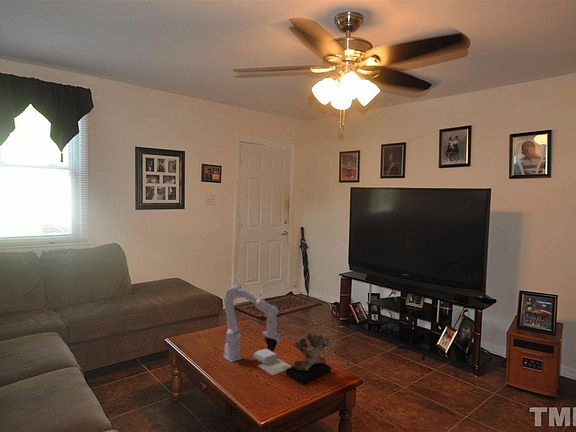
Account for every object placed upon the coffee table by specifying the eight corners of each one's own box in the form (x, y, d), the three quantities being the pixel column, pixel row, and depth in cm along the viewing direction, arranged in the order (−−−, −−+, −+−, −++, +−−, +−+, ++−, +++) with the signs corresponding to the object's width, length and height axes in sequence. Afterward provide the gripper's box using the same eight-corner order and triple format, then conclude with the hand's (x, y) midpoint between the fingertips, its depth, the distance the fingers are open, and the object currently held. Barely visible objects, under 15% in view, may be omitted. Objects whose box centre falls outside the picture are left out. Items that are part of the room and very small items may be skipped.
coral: (318, 362, 223) (319, 327, 222) (343, 375, 208) (344, 337, 206) (285, 374, 207) (286, 336, 206) (310, 390, 192) (311, 349, 190)
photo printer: (277, 360, 224) (265, 353, 233) (277, 353, 223) (265, 347, 233) (264, 365, 217) (251, 358, 226) (263, 358, 217) (251, 351, 226)
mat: (257, 366, 217) (257, 365, 217) (277, 358, 226) (277, 358, 226) (272, 375, 206) (272, 375, 206) (293, 367, 216) (293, 367, 216)
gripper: (285, 329, 215) (284, 352, 216) (269, 322, 226) (269, 344, 227) (275, 332, 210) (274, 356, 211) (260, 325, 221) (259, 347, 222)
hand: (271, 350), depth 219 cm, fingers closed
